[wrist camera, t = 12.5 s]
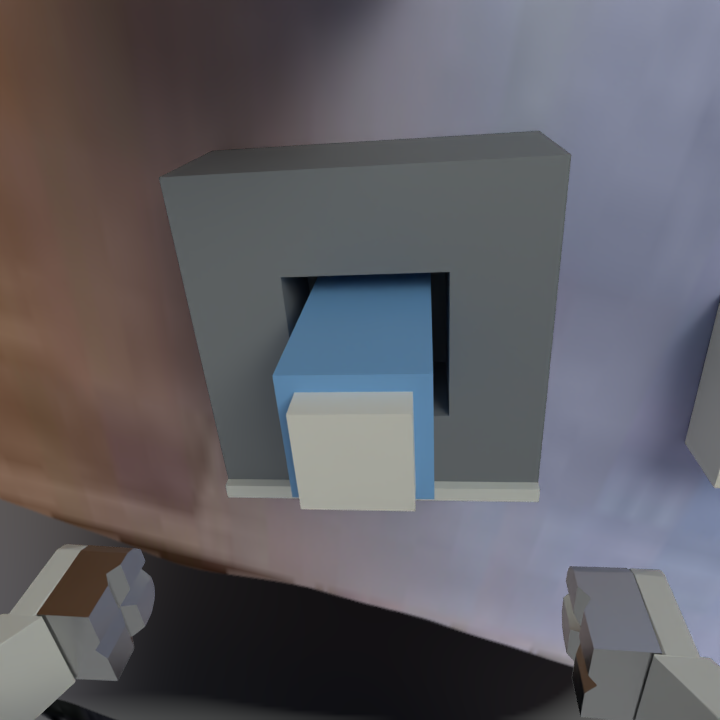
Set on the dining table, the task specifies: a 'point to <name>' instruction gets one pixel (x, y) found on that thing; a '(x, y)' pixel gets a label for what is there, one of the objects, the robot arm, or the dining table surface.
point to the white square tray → (708, 412)
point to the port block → (381, 256)
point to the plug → (360, 394)
